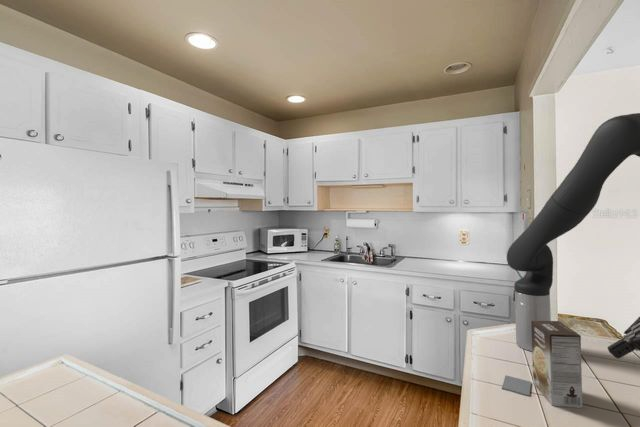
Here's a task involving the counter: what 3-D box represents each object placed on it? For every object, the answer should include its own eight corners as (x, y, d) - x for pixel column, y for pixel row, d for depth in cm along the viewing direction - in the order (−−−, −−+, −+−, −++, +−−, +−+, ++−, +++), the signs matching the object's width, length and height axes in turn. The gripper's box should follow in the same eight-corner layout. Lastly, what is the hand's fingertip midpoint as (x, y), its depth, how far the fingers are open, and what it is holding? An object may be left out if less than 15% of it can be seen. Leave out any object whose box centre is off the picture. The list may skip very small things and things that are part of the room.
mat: (505, 376, 80) (505, 375, 80) (531, 382, 76) (531, 381, 76) (502, 388, 74) (502, 387, 74) (529, 396, 71) (529, 395, 71)
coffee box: (531, 383, 76) (529, 319, 76) (560, 385, 75) (558, 320, 75) (551, 406, 67) (549, 333, 67) (585, 409, 66) (582, 335, 66)
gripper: (666, 282, 65) (591, 328, 72) (689, 297, 54) (598, 349, 61) (706, 312, 61) (623, 357, 69) (738, 333, 51) (636, 383, 58)
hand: (611, 353), depth 65 cm, fingers closed
